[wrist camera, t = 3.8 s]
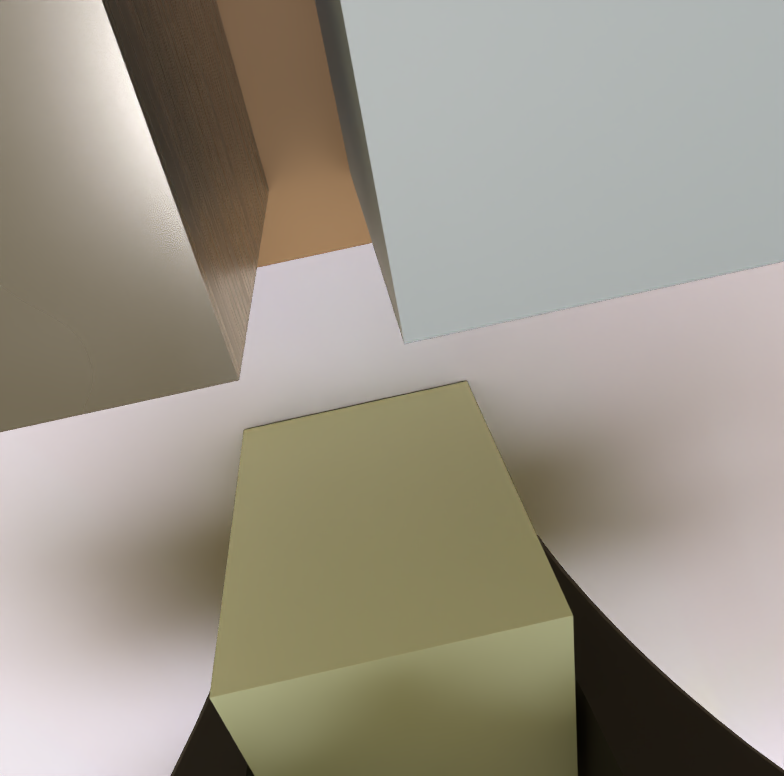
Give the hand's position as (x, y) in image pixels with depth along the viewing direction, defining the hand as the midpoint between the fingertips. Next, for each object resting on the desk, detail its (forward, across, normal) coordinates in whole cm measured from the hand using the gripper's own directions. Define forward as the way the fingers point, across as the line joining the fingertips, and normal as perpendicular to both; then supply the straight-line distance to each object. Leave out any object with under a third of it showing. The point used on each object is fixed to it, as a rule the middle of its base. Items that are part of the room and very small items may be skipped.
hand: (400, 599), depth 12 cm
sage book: (+1, 0, 0) cm, 1 cm away
